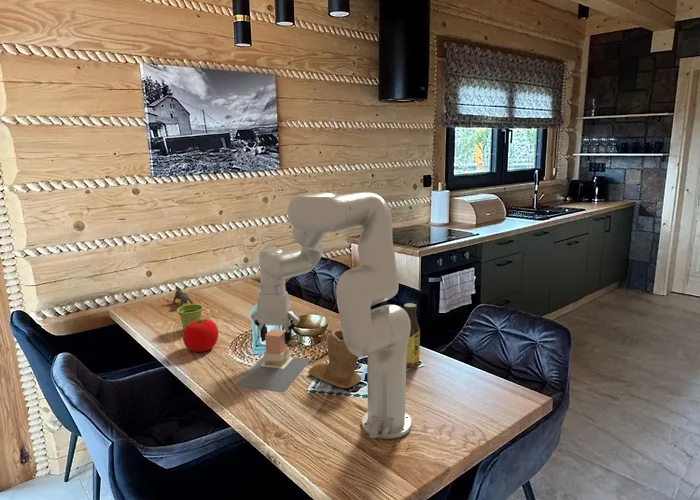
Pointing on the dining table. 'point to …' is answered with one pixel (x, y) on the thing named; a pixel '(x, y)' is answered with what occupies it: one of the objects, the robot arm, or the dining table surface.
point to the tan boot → (337, 363)
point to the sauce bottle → (413, 337)
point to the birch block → (276, 358)
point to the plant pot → (190, 313)
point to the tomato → (200, 335)
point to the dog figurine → (181, 297)
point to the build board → (273, 375)
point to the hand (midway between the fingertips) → (276, 340)
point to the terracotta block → (275, 341)
